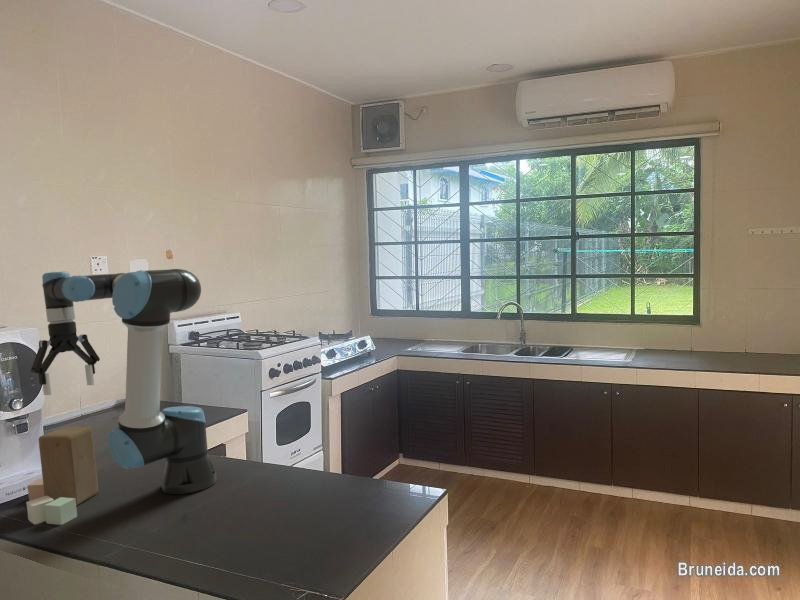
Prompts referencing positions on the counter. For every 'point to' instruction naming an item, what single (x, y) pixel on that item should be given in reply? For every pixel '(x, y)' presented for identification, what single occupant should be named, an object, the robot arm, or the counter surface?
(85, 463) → the wooden block
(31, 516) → the cube cream
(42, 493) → the cube tan
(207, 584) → the counter surface
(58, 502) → the cube sage
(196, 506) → the counter surface
